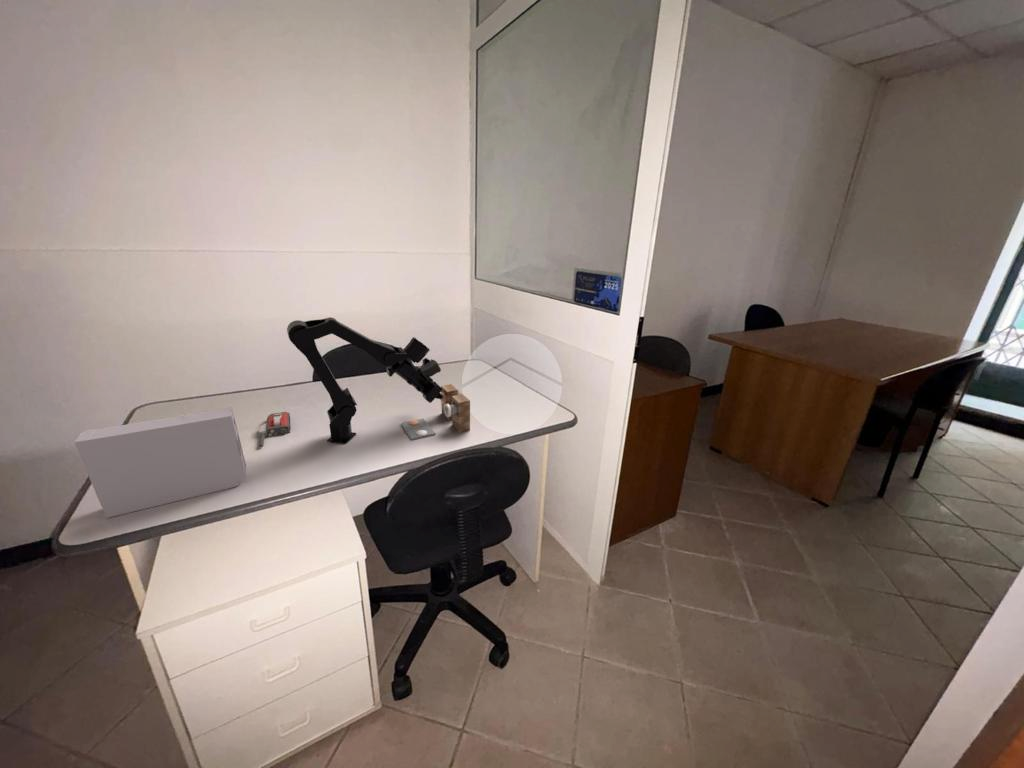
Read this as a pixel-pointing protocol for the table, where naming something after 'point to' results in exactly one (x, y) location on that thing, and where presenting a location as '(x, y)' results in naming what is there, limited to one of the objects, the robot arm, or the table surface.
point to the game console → (162, 460)
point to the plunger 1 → (445, 397)
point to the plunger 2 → (450, 409)
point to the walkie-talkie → (275, 426)
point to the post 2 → (461, 413)
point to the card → (417, 429)
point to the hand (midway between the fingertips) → (441, 397)
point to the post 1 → (448, 396)
